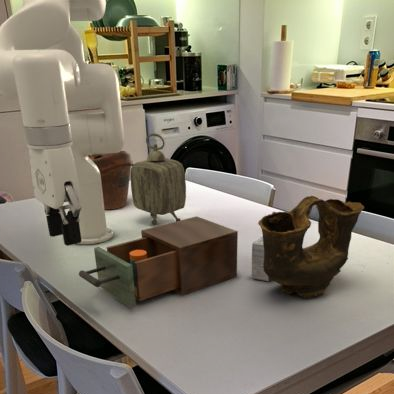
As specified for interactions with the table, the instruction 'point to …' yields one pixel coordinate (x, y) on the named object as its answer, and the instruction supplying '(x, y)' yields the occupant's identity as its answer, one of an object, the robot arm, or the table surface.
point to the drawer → (144, 270)
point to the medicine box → (258, 261)
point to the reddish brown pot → (114, 177)
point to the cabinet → (199, 251)
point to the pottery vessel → (313, 255)
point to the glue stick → (135, 257)
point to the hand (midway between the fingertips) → (65, 238)
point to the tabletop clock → (158, 183)
